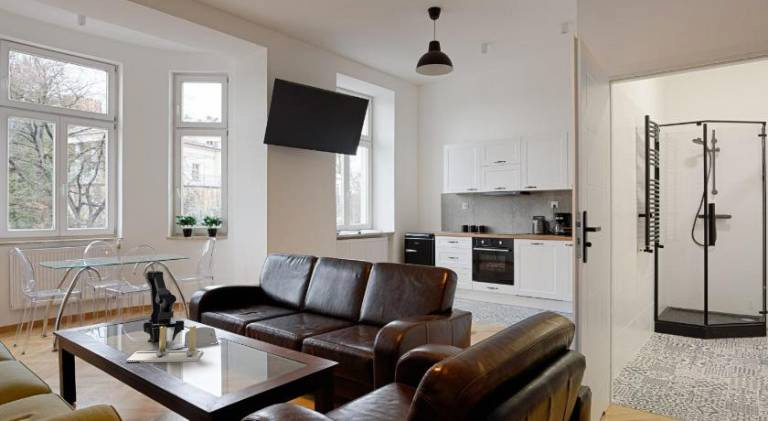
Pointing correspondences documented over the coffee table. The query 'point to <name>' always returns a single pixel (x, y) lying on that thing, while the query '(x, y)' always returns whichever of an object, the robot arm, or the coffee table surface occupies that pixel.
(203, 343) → the grey blocky piece
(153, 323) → the robot arm
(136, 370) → the coffee table surface
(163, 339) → the leg
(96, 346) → the coffee table surface
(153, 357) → the plate
